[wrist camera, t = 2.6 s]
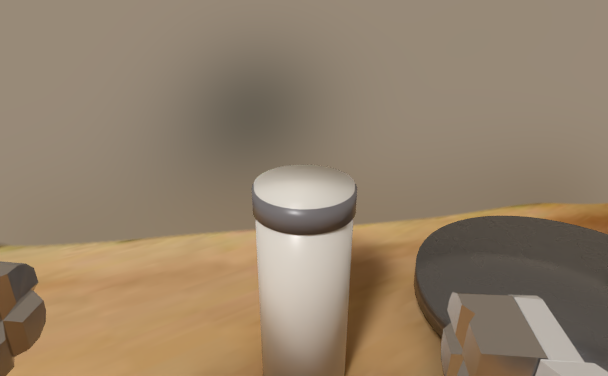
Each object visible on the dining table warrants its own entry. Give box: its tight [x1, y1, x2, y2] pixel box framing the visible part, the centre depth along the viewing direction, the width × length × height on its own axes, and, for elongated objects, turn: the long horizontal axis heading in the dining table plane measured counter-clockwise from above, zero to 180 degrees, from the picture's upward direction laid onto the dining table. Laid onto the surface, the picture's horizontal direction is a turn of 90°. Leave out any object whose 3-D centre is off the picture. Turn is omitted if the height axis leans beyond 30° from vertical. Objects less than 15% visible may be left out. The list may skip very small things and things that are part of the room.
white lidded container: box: [252, 164, 357, 376], centre depth 23 cm, size 5×5×12 cm
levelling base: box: [414, 216, 608, 372], centre depth 28 cm, size 18×18×4 cm
